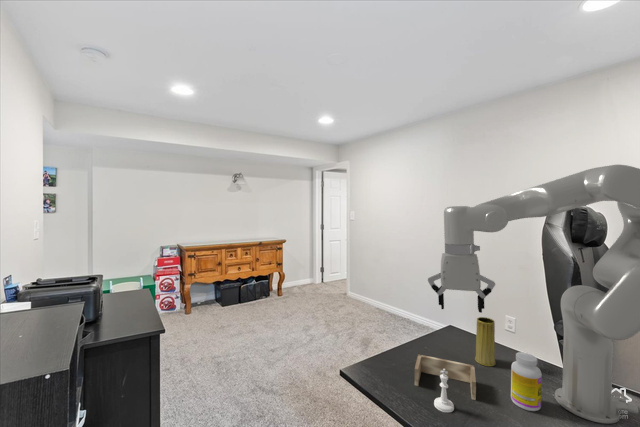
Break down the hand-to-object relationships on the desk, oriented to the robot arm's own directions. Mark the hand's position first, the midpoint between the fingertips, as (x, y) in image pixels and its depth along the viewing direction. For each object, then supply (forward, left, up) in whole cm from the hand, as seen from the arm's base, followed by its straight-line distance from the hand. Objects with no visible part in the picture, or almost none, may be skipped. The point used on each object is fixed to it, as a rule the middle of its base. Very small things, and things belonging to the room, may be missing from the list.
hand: (460, 309), depth 84 cm
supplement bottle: (-16, 0, -24) cm, 28 cm away
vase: (-8, -19, -24) cm, 32 cm away
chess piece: (+4, +10, -24) cm, 26 cm away
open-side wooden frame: (+4, 0, -23) cm, 24 cm away
